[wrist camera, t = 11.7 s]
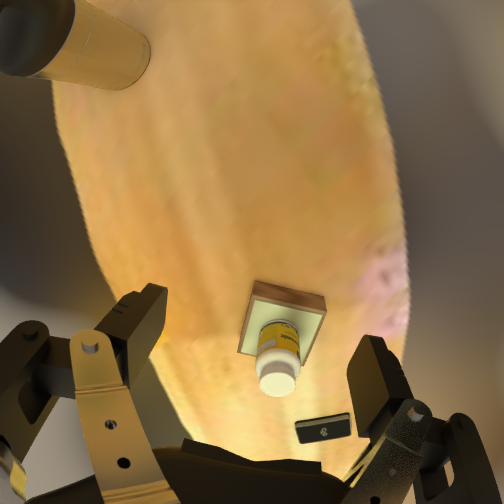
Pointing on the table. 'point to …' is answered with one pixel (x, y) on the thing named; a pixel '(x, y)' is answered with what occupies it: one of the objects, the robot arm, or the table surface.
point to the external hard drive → (323, 428)
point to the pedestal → (282, 316)
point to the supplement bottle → (278, 358)
